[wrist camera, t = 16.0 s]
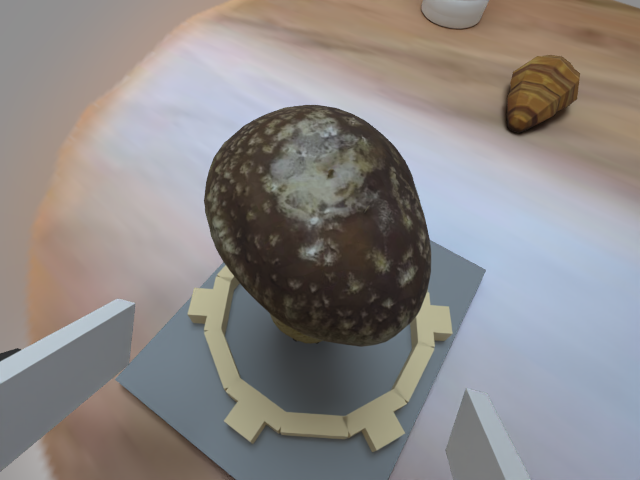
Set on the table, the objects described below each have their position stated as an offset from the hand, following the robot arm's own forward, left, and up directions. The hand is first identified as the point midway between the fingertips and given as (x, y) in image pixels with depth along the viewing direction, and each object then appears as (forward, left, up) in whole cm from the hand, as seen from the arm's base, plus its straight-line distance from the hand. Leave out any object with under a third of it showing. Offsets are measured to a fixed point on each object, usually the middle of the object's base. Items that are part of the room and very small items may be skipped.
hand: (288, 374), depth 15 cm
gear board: (-6, -2, -10) cm, 12 cm away
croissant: (-40, +4, -11) cm, 41 cm away
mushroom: (-5, -2, -9) cm, 11 cm away
